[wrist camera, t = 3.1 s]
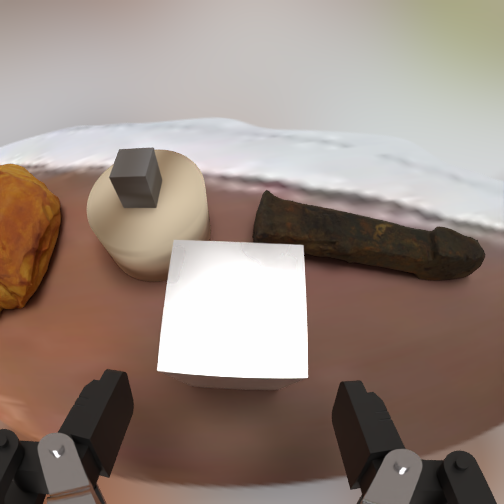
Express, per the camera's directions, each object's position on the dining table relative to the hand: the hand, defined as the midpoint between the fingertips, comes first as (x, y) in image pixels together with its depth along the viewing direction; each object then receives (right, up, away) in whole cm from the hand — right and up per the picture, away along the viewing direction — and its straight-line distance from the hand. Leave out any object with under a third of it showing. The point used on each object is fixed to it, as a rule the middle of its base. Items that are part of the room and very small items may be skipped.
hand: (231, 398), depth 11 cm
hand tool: (+10, +5, +13) cm, 18 cm away
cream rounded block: (-6, +7, +13) cm, 16 cm away
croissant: (-22, +5, +12) cm, 25 cm away
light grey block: (0, -1, +9) cm, 9 cm away
